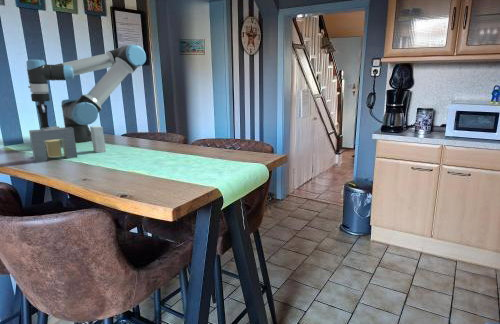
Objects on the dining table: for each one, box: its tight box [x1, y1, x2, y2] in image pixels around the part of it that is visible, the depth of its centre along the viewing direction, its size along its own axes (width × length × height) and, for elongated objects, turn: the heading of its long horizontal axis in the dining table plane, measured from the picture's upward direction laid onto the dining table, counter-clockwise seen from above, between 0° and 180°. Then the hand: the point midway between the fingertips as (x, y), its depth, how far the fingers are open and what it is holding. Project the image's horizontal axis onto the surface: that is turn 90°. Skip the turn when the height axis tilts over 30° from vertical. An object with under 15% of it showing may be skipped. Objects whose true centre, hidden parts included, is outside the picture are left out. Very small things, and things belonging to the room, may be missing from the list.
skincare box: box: [89, 125, 107, 153], centre depth 161 cm, size 6×4×12 cm
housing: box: [28, 125, 78, 163], centre depth 146 cm, size 16×6×14 cm, turn 127°
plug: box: [44, 139, 63, 158], centre depth 157 cm, size 5×16×7 cm, turn 37°
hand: (46, 141), depth 168 cm, fingers closed
